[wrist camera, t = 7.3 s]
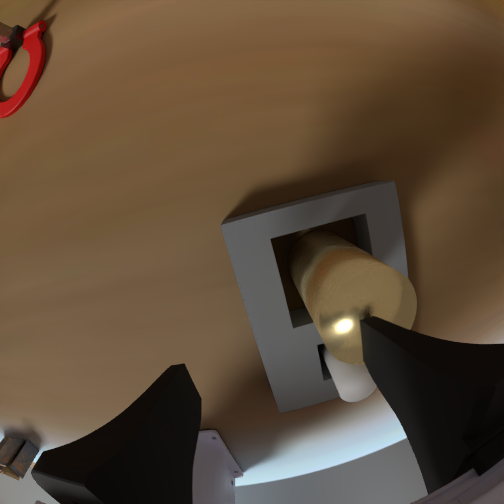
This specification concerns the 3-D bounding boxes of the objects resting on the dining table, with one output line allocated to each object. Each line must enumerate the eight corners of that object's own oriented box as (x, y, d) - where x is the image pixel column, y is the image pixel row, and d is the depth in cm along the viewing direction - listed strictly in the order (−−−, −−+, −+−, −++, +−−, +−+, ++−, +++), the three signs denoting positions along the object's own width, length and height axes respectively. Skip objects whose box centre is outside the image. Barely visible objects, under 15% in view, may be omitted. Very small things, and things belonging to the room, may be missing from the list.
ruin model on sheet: (27, 436, 25) (3, 473, 16) (40, 449, 26) (17, 486, 17) (3, 434, 26) (-18, 464, 17) (14, 445, 27) (-6, 476, 17)
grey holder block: (396, 355, 21) (428, 395, 16) (276, 393, 22) (284, 446, 16) (377, 181, 18) (426, 181, 12) (223, 219, 18) (214, 235, 13)
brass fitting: (352, 283, 20) (414, 346, 11) (293, 298, 20) (326, 376, 11) (344, 224, 19) (416, 256, 10) (282, 238, 19) (314, 283, 10)
